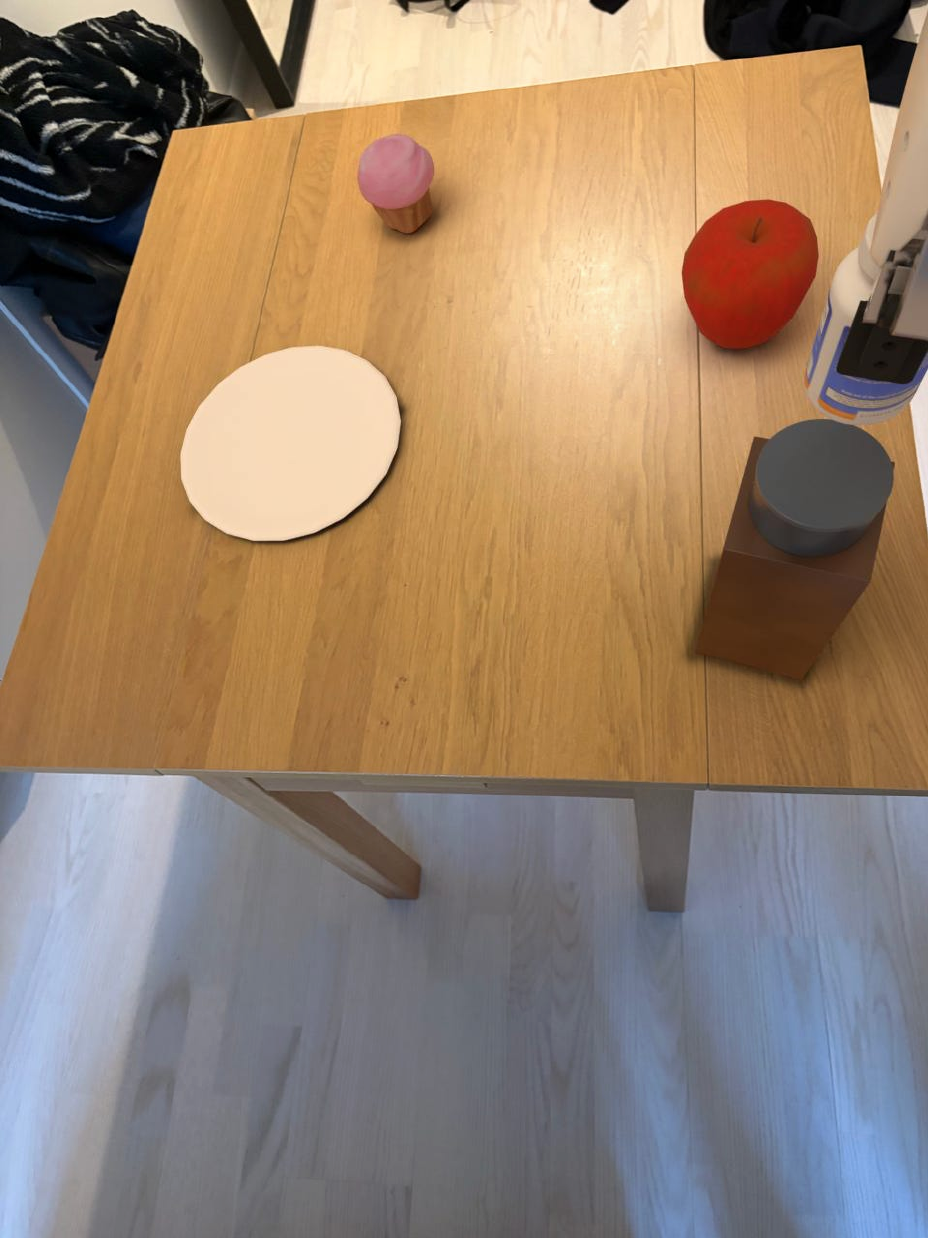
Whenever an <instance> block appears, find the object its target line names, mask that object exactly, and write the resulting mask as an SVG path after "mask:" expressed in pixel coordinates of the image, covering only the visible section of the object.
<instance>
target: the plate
mask: <svg viewBox="0 0 928 1238" xmlns="http://www.w3.org/2000/svg"><path fill="white" fill-rule="evenodd" d="M401 426H402V419H401V413H400V408H399V402H398V398H397V395H396V393H395V392H394V389H393V388H392V386H391V385H390V383H389V381H388V378H387V377H386V375H384V374H383V373H382V372H381V371H380V370H379V369H377V368H376V367H375V366H374V365H373V364H372V363H371V362H370V361H368V360H367V359H365V358H363V357H361V356H358V355H356V354H354V353H352V352H350V351H349V350H346V349H342V348H336V347H331V346H330V347H329V346H324V345H306V346H291V347H288V348H285V349H280V350H276V351H273V352H269V353H265V354H263V355H262V356H259V357H257V358H255V359H254V360H251V361H250V362H248V363H246V364H244V365H242V366H239V367H238V368H237V369H236V370H234V371H233V372H232V373H230V374H229V375H228V376H227V377H225V378H224V379H223V380H221V381H220V382H219V383H218V384H217V385H215V387H214V388H213V389H212V390H211V391H210V393H209V394H208V395H207V396H206V397H205V398H204V400H203V401H202V402H201V403H200V404H199V405H198V407H197V409H196V411H195V413H194V415H193V417H192V418H191V421H190V422H189V424H188V426H187V428H186V430H185V434H184V438H183V442H182V447H181V450H180V454H179V455H180V459H179V460H180V479H181V482H182V485H183V488H184V490H185V493H186V495H187V498H188V501H189V503H190V504H191V505H192V507H194V509H195V510H196V511H197V512H198V513H199V515H200V516H201V517H202V519H203V520H204V521H205V522H206V523H208V524H210V525H212V526H213V527H215V528H216V529H218V530H220V531H221V532H223V533H225V534H227V535H229V536H233V537H236V538H239V539H244V540H247V541H251V542H286V541H290V540H295V539H299V538H302V537H306V536H310V535H311V536H312V535H314V534H317V533H319V532H321V531H322V530H325V529H326V528H328V527H331V526H332V525H334V524H337V523H339V522H340V521H342V520H345V519H346V517H348V516H349V515H350V514H352V513H353V512H354V511H355V510H356V509H358V508H360V506H361V505H363V503H365V502H366V501H367V500H368V499H369V498H370V497H371V496H372V494H373V493H374V492H375V491H376V489H377V488H378V487H379V485H380V484H381V483H382V481H383V480H384V479H385V477H387V475H388V473H389V470H390V468H391V465H392V463H393V461H394V458H395V456H396V454H397V451H398V449H399V443H400V434H401V429H402V427H401Z"/></svg>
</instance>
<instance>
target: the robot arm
mask: <svg viewBox="0 0 928 1238" xmlns="http://www.w3.org/2000/svg"><path fill="white" fill-rule="evenodd" d="M877 212H878V213H877ZM877 212H876V213H877V218H876V224H875V229H874V234H873V239H872V244H871V249H870V256H871V258H872V259H873V261H874V263H875V264H876V265H877V266H878V267H879V271H878V274H877V277H876V280H875V282H874V285H873V288H872V291H871V294H870V297H869V300H868V301H862V300H860V303H859V306H858V308H857V311H856V314H855V316H854V319H853V322H852V324H851V327H850V330H849V332H848V335H847V338H846V340H845V343H844V346H843V348H842V351H841V354H840V356H839V359H838V363H837V367H836V371H837V372H838V373H839V374H841V375H846V376H852V377H858V378H865V379H869V380H875V381H884V382H890V383H897V384H908V383H910V382H912V380H913V379H914V377H915V375H916V373H917V371H918V369H919V367H920V365H921V363H922V361H923V359H924V358H925V356H926V354H927V352H928V10H927V12H926V15H925V18H924V21H923V24H922V27H921V31H920V34H919V38H918V41H917V45H916V48H915V52H914V55H913V58H912V62H911V65H910V69H909V72H908V75H907V80H906V83H905V87H904V90H903V94H902V98H901V102H900V105H899V109H898V113H897V118H896V122H895V127H894V131H893V135H892V140H891V144H890V149H889V153H888V158H887V163H886V168H885V172H884V178H883V182H882V187H881V191H880V198H879V202H878V208H877ZM921 230H924V234H923V237H922V239H913V238H914V237H915V236H916V235H917V234H918V233H919V232H920V231H921ZM898 266H903V267H911V268H912V270H911V273H910V276H909V278H908V281H907V284H906V287H905V290H904V292H903V294H902V295H898V294H890V293H888V292H889V289H890V286H891V283H892V281H893V278H894V275H895V273H896V270H897V267H898Z"/></svg>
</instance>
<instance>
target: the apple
mask: <svg viewBox="0 0 928 1238" xmlns="http://www.w3.org/2000/svg"><path fill="white" fill-rule="evenodd" d="M818 243H819V242H818V236H817V233H816V230H815V228H814V225H813V222H812V219H810V218H809V217H808V216H807V215H805V214H804V213H803V212H801V211H800V210H798V209H797V208H796V207H794V206H793V205H791V204H789V203H788V202H784V201H779V200H774V199H768V198H767V199H756V200H755V199H754V200H745V201H742V202H738V203H735V204H732V205H728V206H726V207H723V208H722V209H720V210H719V211H717V212H716V213H714V214H713V215H712V216H711V217H709V218H708V219H706V220H705V221H704V223H703V224H702V225H701V226H700V228H699V229H698V231H697V232H696V233H695V234H694V236H693V238H692V239H691V241H690V243H689V245H688V246H687V249H686V250H685V252H684V256H683V261H682V268H681V279H682V280H681V281H682V289H683V298H684V301H685V303H686V305H687V308H688V310H689V312H690V315H691V317H692V318H693V320H694V323H695V325H696V327H697V329H698V331H699V333H700V334H701V335H702V336H704V338H705V339H707V340H708V341H710V342H711V343H713V344H714V345H717V346H720V347H721V348H725V349H748V348H752V347H756V346H760V345H762V344H763V343H765V342H767V341H769V340H770V339H772V338H773V337H775V336H776V335H777V334H778V333H779V332H780V331H781V330H782V329H784V327H785V326H786V325H788V323H790V321H792V320H793V318H794V316H795V315H796V313H797V311H798V309H799V307H801V304H802V303H803V301H804V299H805V297H806V295H807V293H808V291H809V290H810V288H811V286H812V284H813V283H814V281H815V278H816V277H817V270H818V263H819V255H820V254H819V244H818Z"/></svg>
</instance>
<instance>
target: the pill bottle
mask: <svg viewBox="0 0 928 1238" xmlns="http://www.w3.org/2000/svg"><path fill="white" fill-rule="evenodd" d="M877 213H878V211H876V212H875V213H874V214H873V216H872V217H871V218H870V220H869V221H868V223H867V225H866V227H865V230H864V233H863V235H862V238H861V241H860V243H859V245H858V246H857V247H855V248H854V249H852V250H851V251H849V253H848V254H847V255H846V256H845V257H844V258H843V259H842V261H841V262H840V263H839V265H838V266H837V268H836V270H835V273H834V275H833V278H832V281H831V284H830V287H829V290H828V294H827V298H826V300H825V303H824V307H823V311H822V313H821V317H820V320H819V324H818V327H817V330H816V333H815V337H814V341H813V343H812V347H811V350H810V353H809V356H808V358H807V362H806V365H805V370H804V376H803V385H804V391H805V394H806V396H807V398H808V400H809V402H810V403H811V405H812V406H813V407H814V408H815V410H817V411H818V412H819V414H821V415H822V416H824V417H826V418H827V419H831V420H834V421H837V422H840V423H844V424H849V425H855V426H871V425H877V424H881V423H884V422H886V421H887V422H888V421H889V420H891V419H893V418H895V417H896V416H898V415H899V414H901V413H902V412H903V411H904V410H905V409H906V408H907V407H908V406H909V404H910V403H911V402H912V400H913V399H914V397H915V396H916V394H917V392H918V390H919V387H920V386H921V383H922V382H923V380H924V378H925V376H926V374H927V372H928V352H927V354H926V356H925V358H924V359H923V361H922V363H921V365H920V367H919V369H918V371H917V373H916V375H915V377H914V379H913V380H912V382H910V383H908V384H897V383H890V382H884V381H875V380H869V379H865V378H858V377H852V376H846V375H841V374H839V373H838V372H837V371H836V367H837V363H838V359H839V356H840V354H841V351H842V348H843V346H844V343H845V340H846V338H847V335H848V332H849V330H850V327H851V324H852V322H853V319H854V316H855V314H856V311H857V308H858V306H859V303H860V300H862V301H868V300H869V297H870V294H871V291H872V288H873V285H874V282H875V280H876V277H877V274H878V271H879V267H878V266H877V265H876V264H875V263H874V261H873V259H872V258H871V256H870V249H871V244H872V239H873V234H874V229H875V224H876V218H877ZM923 234H924V230H921V231H920V232H919V233H918V234H917V235H916V236H915V237H914V238H913V239H922V237H923ZM911 270H912V268H911V267H903V266H898V267H897V270H896V273H895V275H894V278H893V281H892V283H891V286H890V289H889V292H888V293H890V294H898V295H902V294H903V292H904V290H905V287H906V284H907V281H908V278H909V276H910V273H911Z"/></svg>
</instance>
